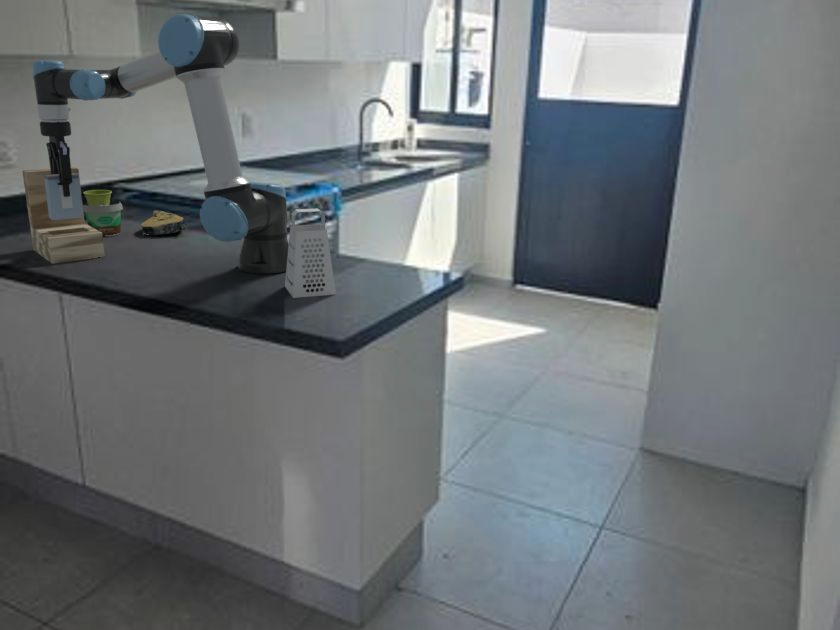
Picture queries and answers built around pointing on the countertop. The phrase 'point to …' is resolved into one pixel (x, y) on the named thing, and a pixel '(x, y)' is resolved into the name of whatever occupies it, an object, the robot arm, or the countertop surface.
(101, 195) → the plant pot
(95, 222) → the food container
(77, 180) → the pale blue plaque
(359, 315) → the countertop surface
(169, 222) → the yellow piece
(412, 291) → the countertop surface
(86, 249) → the slotted wooden holder
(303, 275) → the grater
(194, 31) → the robot arm
